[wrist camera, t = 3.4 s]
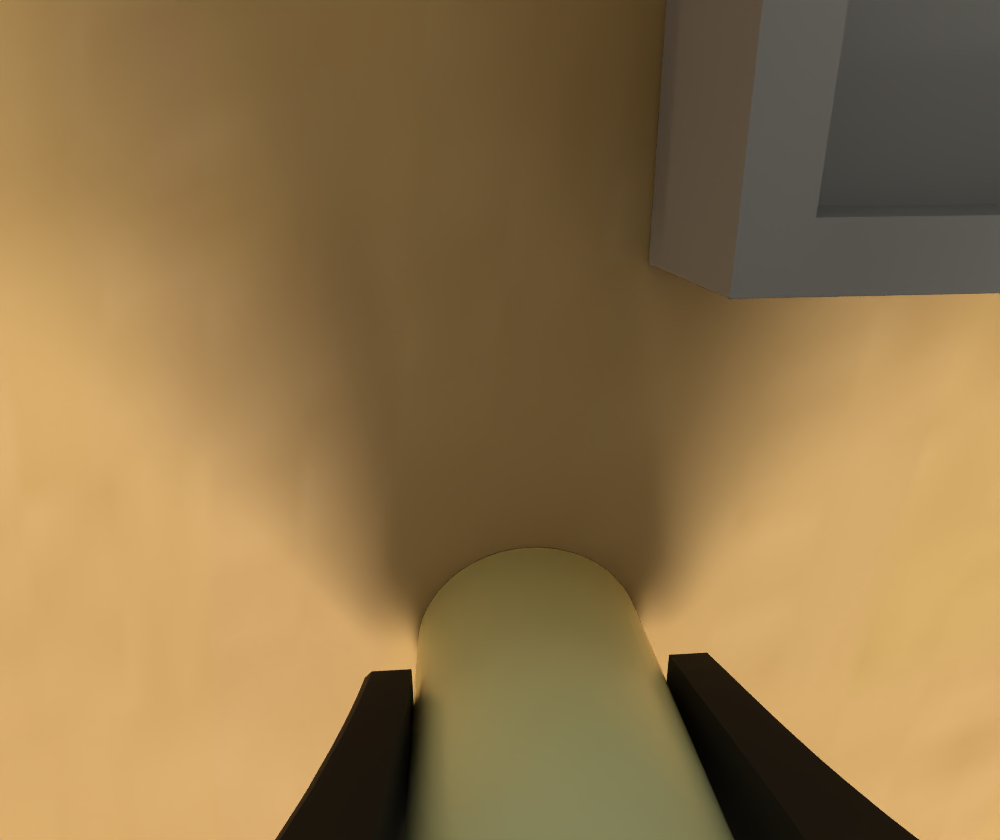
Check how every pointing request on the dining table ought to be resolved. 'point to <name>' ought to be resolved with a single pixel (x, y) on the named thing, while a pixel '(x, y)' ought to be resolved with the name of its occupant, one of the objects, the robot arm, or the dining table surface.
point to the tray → (829, 147)
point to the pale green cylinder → (547, 713)
